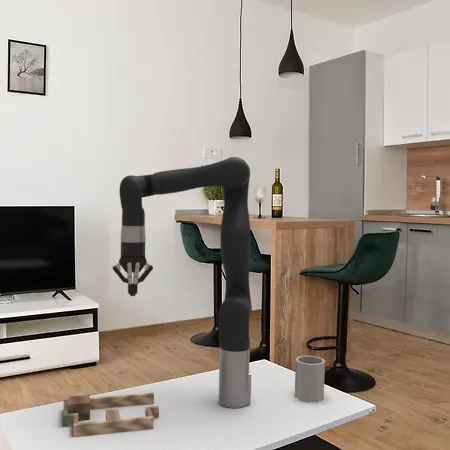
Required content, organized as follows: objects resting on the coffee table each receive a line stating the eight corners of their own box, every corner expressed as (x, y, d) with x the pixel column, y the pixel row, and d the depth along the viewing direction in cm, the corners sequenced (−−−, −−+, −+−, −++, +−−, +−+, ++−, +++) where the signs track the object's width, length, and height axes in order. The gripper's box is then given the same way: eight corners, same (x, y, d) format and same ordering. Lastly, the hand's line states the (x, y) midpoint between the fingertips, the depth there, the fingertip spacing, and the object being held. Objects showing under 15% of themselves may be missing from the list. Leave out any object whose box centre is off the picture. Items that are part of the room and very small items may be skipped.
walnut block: (89, 411, 153) (89, 394, 153) (90, 420, 147) (90, 402, 147) (68, 413, 151) (68, 396, 151) (67, 422, 146) (68, 404, 145)
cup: (329, 398, 167) (330, 361, 166) (308, 404, 161) (309, 366, 161) (309, 389, 174) (310, 354, 173) (288, 395, 169) (290, 358, 168)
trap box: (153, 402, 161) (153, 392, 161) (162, 427, 143) (162, 417, 143) (63, 410, 153) (63, 400, 153) (62, 437, 136) (62, 426, 136)
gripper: (152, 239, 168) (152, 292, 169) (110, 239, 164) (110, 294, 165) (156, 241, 161) (155, 297, 162) (112, 241, 157) (111, 298, 158)
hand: (132, 295), depth 163 cm, fingers closed
